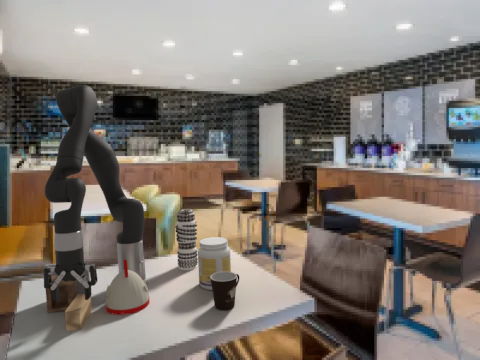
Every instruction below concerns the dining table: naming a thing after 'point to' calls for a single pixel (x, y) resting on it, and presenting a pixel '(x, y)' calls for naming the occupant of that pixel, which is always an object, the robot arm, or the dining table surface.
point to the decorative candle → (186, 239)
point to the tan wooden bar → (78, 312)
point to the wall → (79, 285)
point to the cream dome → (126, 293)
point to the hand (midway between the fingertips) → (72, 300)
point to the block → (61, 295)
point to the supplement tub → (212, 259)
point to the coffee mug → (224, 289)
